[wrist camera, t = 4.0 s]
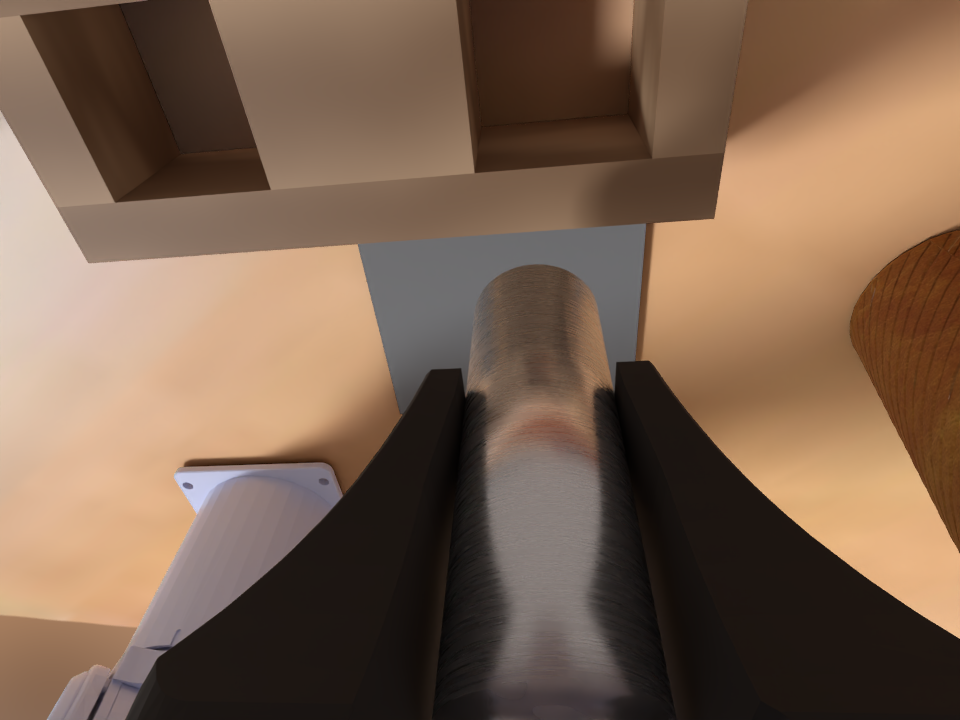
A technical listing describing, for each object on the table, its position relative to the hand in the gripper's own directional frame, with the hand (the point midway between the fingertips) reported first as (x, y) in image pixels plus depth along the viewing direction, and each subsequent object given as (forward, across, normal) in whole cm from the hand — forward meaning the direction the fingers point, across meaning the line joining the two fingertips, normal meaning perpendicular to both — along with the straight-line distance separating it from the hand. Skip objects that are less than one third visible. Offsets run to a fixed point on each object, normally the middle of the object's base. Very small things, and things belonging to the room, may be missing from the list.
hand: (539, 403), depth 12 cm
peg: (+3, 0, 0) cm, 3 cm away
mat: (+10, +1, +5) cm, 11 cm away
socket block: (+10, +4, -5) cm, 12 cm away
